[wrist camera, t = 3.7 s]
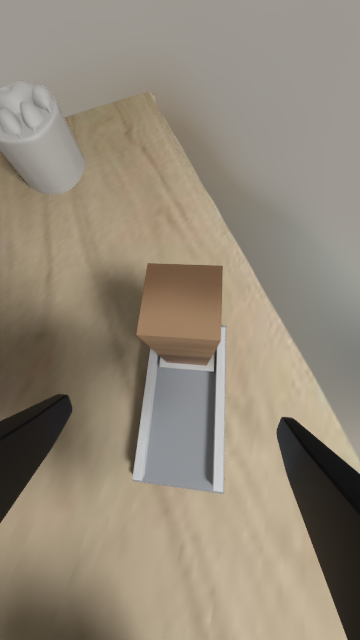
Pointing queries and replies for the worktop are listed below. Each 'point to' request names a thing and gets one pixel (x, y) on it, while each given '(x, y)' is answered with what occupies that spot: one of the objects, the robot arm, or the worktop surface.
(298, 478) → the robot arm
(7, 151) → the lumpy-topped squat cylinder
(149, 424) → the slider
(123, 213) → the worktop surface
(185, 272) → the brown rectangular block
